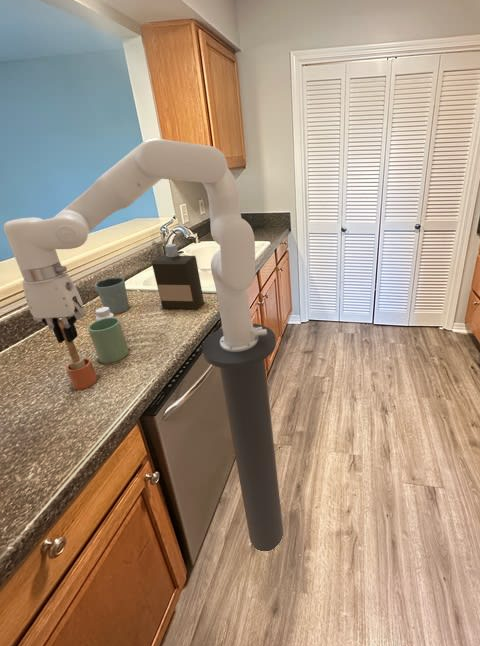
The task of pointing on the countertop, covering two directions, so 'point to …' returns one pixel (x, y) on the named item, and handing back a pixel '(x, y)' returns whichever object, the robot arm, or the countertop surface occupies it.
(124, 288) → the blue-gray pot
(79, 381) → the holder
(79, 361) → the brush
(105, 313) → the supplement bottle
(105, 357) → the tumbler
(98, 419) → the countertop surface
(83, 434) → the countertop surface
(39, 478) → the countertop surface
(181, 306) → the bottle
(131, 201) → the robot arm
